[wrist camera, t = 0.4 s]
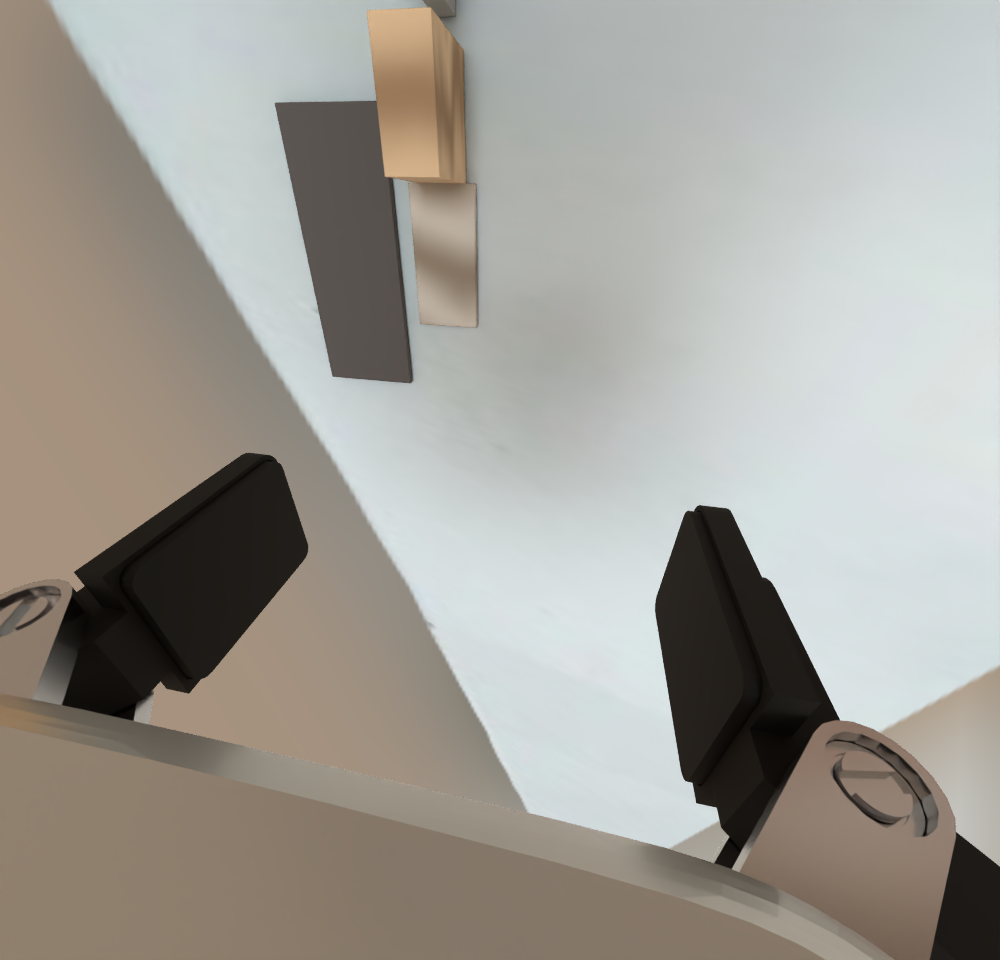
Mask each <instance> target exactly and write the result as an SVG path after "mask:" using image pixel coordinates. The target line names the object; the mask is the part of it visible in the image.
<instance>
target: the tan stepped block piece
mask: <svg viewBox="0 0 1000 960" xmlns="http://www.w3.org/2000/svg"><path fill="white" fill-rule="evenodd" d="M367 17H368V26H369V35H370V44H371V53H372V63H373V72H374V81H375V90H376V99H377V108H378V118H379V127H380V136H381V145H382V154H383V163H384V173H385V177H390V178H395V179H401V180H406V181H411V182H417V183H408V184H409V196H410V208H411V220H412V232H413V244H414V255H415V267H416V279H417V291H418V303H419V315H420V324H431V325H447V326H462V327H477V230H476V184H474V183H466V154H465V107H464V60H463V49H462V47H461V46H460V45H459V43H458V42H457V41H456V39H455V38H454V37H453V36H452V34H451V33H450V32H449V30H448V29H447V28H446V26H445V25H444V24H443V23H442V21H441V20H440V19H439V17H438V16H437V15H436V13H435V12H434V11H433V9H432V8H431V7H427V8H407V9H387V10H367Z"/></svg>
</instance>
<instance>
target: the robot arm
mask: <svg viewBox="0 0 1000 960" xmlns="http://www.w3.org/2000/svg"><path fill="white" fill-rule="evenodd" d="M307 553H308V543H307V540H306V538H305V534H304V531H303V528H302V525H301V522H300V519H299V516H298V513H297V510H296V507H295V504H294V501H293V498H292V495H291V492H290V488H289V486H288V482H287V480H286V476H285V473H284V470H283V467H282V466H281V464H280V463H278V462H277V460H276V459H275V458H274V457H272V456H270V455H263V454H254V453H245V454H243V455H241V456H240V457H238V458H237V459H235V460H234V461H233V462H231V463H230V464H228V465H227V466H225V467H224V468H222V469H221V470H220V471H218V472H217V473H215V474H214V475H212V476H211V477H210V478H208V479H207V480H205V481H204V482H202V483H201V484H199V485H198V486H197V487H195V488H194V489H192V490H191V491H190V492H188V493H187V494H186V495H184V496H182V497H181V498H180V499H178V500H177V501H175V502H174V503H172V504H171V505H169V506H168V507H167V508H165V509H164V510H162V511H161V512H159V513H158V514H157V515H155V516H154V517H152V518H151V519H149V520H148V521H147V522H145V523H144V524H143V525H141V526H140V527H138V528H137V529H135V530H134V531H132V532H131V533H129V534H128V535H126V536H125V537H124V538H122V539H121V540H119V541H118V542H116V543H115V544H114V545H112V546H111V547H109V548H108V549H106V550H105V551H104V552H102V553H101V554H99V555H98V556H96V557H95V558H94V559H92V560H91V561H89V562H88V563H86V564H85V565H83V566H82V567H81V568H79V569H78V570H76V571H75V572H74V573H75V574H76V575H77V577H78V578H79V579H80V580H81V581H82V583H83V584H84V585H85V587H83V588H82V589H81V590H79V591H78V592H76V591H75V590H74V589H73V587H72V586H71V585H70V584H69V583H68V582H66V581H62V580H59V579H57V580H43V581H38V582H33V583H29V584H26V585H23V586H20V587H17V588H14V589H12V590H10V591H8V592H5V593H3V594H1V595H0V960H1000V867H999V866H998V865H997V864H996V863H994V862H993V861H992V860H991V859H989V858H988V857H987V856H986V855H984V854H983V853H982V852H981V851H979V850H978V849H977V848H976V847H974V846H973V845H972V844H970V843H969V842H968V841H967V840H965V839H964V838H963V837H962V836H960V835H959V834H958V833H957V832H956V825H955V817H954V815H953V812H952V810H951V807H950V804H949V802H948V799H947V797H946V796H945V794H944V793H943V791H942V790H941V789H940V787H939V785H938V784H937V783H936V781H935V780H934V778H933V777H932V775H930V773H929V772H928V771H926V769H925V768H924V767H923V766H922V765H921V764H920V763H919V762H918V761H917V760H916V759H915V758H914V757H913V756H912V755H911V754H910V753H908V752H907V751H906V750H904V749H903V748H902V747H901V746H899V745H898V744H897V743H896V742H894V741H893V740H891V739H889V738H888V737H886V736H884V735H882V734H881V733H879V732H877V731H875V730H874V729H871V728H869V727H866V726H863V725H860V724H857V723H855V722H849V721H840V719H839V717H838V715H837V713H836V711H835V709H834V707H833V705H832V703H831V701H830V699H829V697H828V695H827V693H826V691H825V689H824V687H823V685H822V683H821V681H820V678H819V676H818V674H817V672H816V670H815V668H814V666H813V664H812V662H811V660H810V658H809V656H808V654H807V652H806V650H805V648H804V646H803V644H802V642H801V640H800V638H799V636H798V634H797V632H796V630H795V628H794V626H793V624H792V621H791V619H790V617H789V615H788V613H787V611H786V609H785V607H784V605H783V603H782V601H781V599H780V597H779V595H778V593H777V591H776V589H775V587H774V586H773V584H772V583H771V581H769V580H768V579H766V578H762V577H761V574H760V572H759V570H758V568H757V566H756V564H755V562H754V559H753V557H752V555H751V553H750V551H749V549H748V547H747V545H746V542H745V540H744V538H743V536H742V534H741V532H740V530H739V528H738V525H737V523H736V521H735V519H734V517H733V515H732V513H731V511H730V510H729V509H727V508H718V507H710V506H701V505H699V506H697V507H696V508H695V510H694V512H693V511H687V512H686V513H685V515H684V517H683V520H682V523H681V526H680V529H679V532H678V535H677V538H676V541H675V544H674V547H673V550H672V553H671V556H670V559H669V562H668V565H667V567H666V570H665V573H664V576H663V579H662V582H661V585H660V588H659V591H658V594H657V597H656V603H655V613H656V619H657V626H658V632H659V638H660V644H661V650H662V656H663V663H664V669H665V675H666V681H667V687H668V693H669V700H670V706H671V712H672V718H673V724H674V730H675V736H676V743H677V749H678V755H679V761H680V767H681V772H682V775H683V778H684V780H685V781H687V782H692V783H693V787H694V793H695V798H696V803H698V804H703V805H707V806H712V807H717V810H718V815H719V819H720V824H721V828H722V829H723V830H724V831H725V832H726V834H727V835H726V836H725V838H724V839H723V841H722V843H721V845H720V846H719V848H718V850H717V851H716V853H715V855H714V856H713V858H712V860H711V862H708V861H705V860H702V859H699V858H696V857H692V856H689V855H686V854H683V853H679V852H676V851H673V850H670V849H667V848H664V847H660V846H656V845H652V844H648V843H644V842H640V841H637V840H633V839H629V838H625V837H621V836H617V835H613V834H609V833H605V832H602V831H598V830H594V829H590V828H586V827H582V826H578V825H574V824H571V823H567V822H563V821H559V820H555V819H551V818H547V817H543V816H539V815H535V814H530V813H526V812H522V811H517V810H513V809H509V808H505V807H501V806H497V805H492V804H488V803H484V802H480V801H476V800H471V799H467V798H462V797H459V796H455V795H450V794H446V793H442V792H437V791H433V790H429V789H425V788H420V787H416V786H412V785H408V784H404V783H400V782H395V781H391V780H387V779H383V778H379V777H374V776H370V775H366V774H361V773H357V772H353V771H349V770H344V769H340V768H336V767H331V766H327V765H323V764H318V763H314V762H310V761H306V760H301V759H297V758H293V757H288V756H284V755H280V754H275V753H271V752H266V751H262V750H258V749H253V748H249V747H245V746H241V745H236V744H232V743H228V742H223V741H219V740H215V739H210V738H205V737H201V736H197V735H193V734H188V733H184V732H179V731H175V730H170V729H166V728H162V727H157V726H153V725H149V723H150V715H151V708H152V701H153V693H154V692H153V689H154V688H155V687H156V686H157V684H158V683H159V682H160V681H161V682H162V684H163V685H164V686H165V687H166V688H167V689H171V690H175V691H180V692H184V693H190V692H191V691H192V689H193V688H194V687H195V686H196V685H197V683H198V682H199V681H200V680H201V679H202V678H205V677H207V676H208V675H209V674H210V673H211V672H212V671H213V670H214V669H215V668H216V666H217V665H218V664H219V663H220V661H221V660H222V659H223V658H224V657H225V655H226V654H227V653H228V652H229V650H230V649H231V648H232V647H233V646H234V644H235V643H236V642H237V641H238V640H239V638H240V637H241V636H242V635H243V634H244V632H245V631H246V630H247V629H248V627H249V626H250V625H251V624H252V622H253V621H254V620H255V619H256V618H257V617H258V615H259V614H260V613H261V612H262V610H263V609H264V608H265V607H266V606H267V604H268V603H269V602H270V601H271V599H272V598H273V597H274V596H275V595H276V593H277V592H278V591H279V590H280V589H281V587H282V586H283V585H284V584H285V582H286V581H287V580H288V579H289V578H290V576H291V575H292V574H293V573H294V572H295V570H296V569H297V568H298V567H299V565H300V564H301V563H302V562H303V560H304V559H305V558H306V556H307Z"/></svg>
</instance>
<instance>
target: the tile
mask: <svg viewBox="0 0 1000 960" xmlns="http://www.w3.org/2000/svg"><path fill="white" fill-rule="evenodd" d="M423 1H424V3H425V4H426V5H427V6H428V7H431V8H432V9H433V11H434V12H435V13H436V15H437V16H438V17H445V16H456V9H455V0H423Z"/></svg>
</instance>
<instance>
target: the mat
mask: <svg viewBox="0 0 1000 960" xmlns="http://www.w3.org/2000/svg"><path fill="white" fill-rule="evenodd" d="M275 107H276V111H277V116H278V121H279V125H280V130H281V135H282V140H283V144H284V149H285V154H286V159H287V163H288V168H289V173H290V177H291V182H292V187H293V192H294V196H295V201H296V206H297V211H298V215H299V220H300V225H301V229H302V234H303V239H304V244H305V248H306V253H307V258H308V263H309V267H310V272H311V277H312V281H313V286H314V291H315V296H316V300H317V305H318V310H319V315H320V319H321V324H322V329H323V333H324V338H325V343H326V348H327V352H328V357H329V362H330V367H331V371H332V376H333V377H344V378H356V379H367V380H379V381H390V382H402V383H411V382H412V372H411V362H410V353H409V343H408V333H407V323H406V313H405V303H404V294H403V284H402V274H401V264H400V254H399V244H398V235H397V225H396V215H395V205H394V195H393V186H392V178H390V177H385V173H384V163H383V154H382V145H381V136H380V127H379V118H378V108H377V101H349V102H289V103H275Z"/></svg>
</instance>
